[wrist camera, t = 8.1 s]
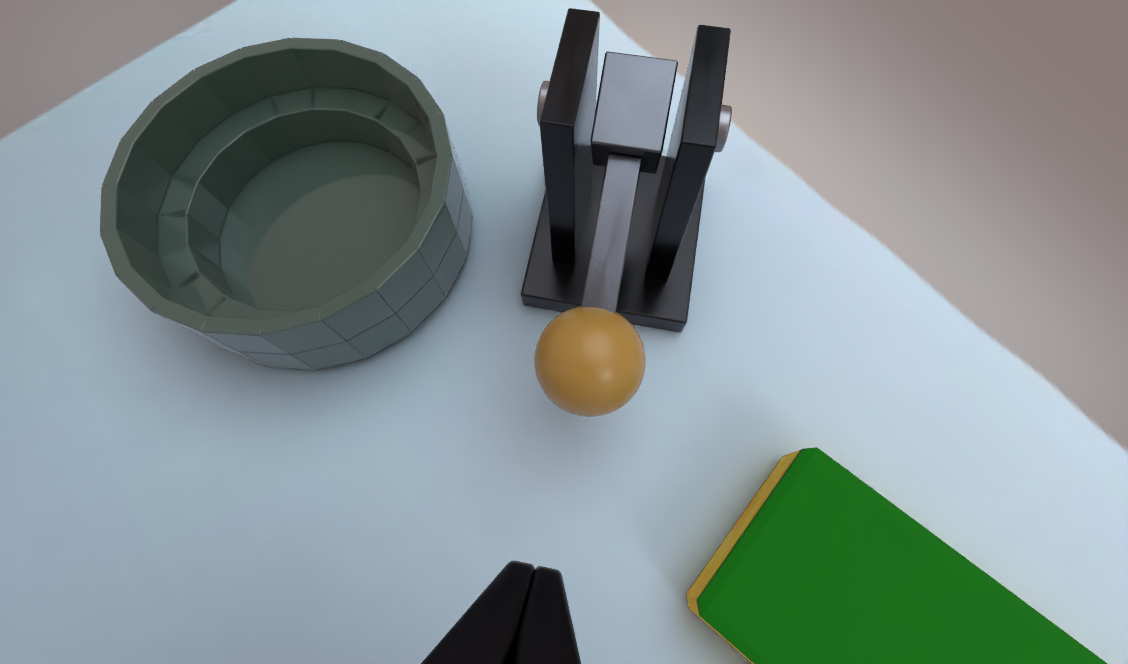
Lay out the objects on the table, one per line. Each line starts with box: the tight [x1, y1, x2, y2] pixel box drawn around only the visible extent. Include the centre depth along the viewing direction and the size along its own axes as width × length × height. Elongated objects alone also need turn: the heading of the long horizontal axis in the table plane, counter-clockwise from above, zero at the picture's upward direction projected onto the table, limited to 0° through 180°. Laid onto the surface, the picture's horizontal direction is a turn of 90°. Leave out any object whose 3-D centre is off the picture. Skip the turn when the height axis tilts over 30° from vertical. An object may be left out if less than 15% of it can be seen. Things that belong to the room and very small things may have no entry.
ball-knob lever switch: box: [521, 8, 732, 332], centre depth 21 cm, size 8×7×10 cm
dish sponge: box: [687, 448, 1107, 664], centre depth 18 cm, size 7×14×2 cm, turn 50°
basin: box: [100, 38, 472, 370], centre depth 23 cm, size 13×13×5 cm
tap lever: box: [535, 52, 678, 417], centre depth 18 cm, size 11×4×4 cm, turn 169°
